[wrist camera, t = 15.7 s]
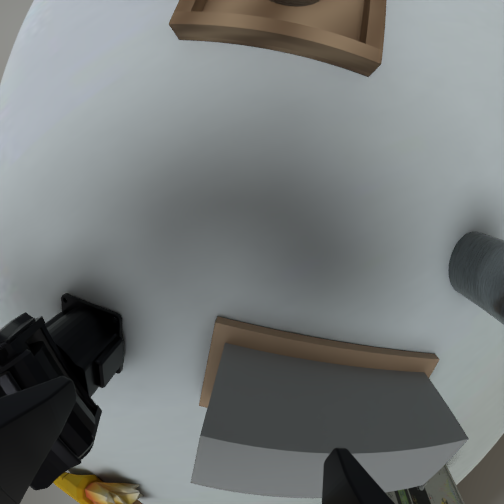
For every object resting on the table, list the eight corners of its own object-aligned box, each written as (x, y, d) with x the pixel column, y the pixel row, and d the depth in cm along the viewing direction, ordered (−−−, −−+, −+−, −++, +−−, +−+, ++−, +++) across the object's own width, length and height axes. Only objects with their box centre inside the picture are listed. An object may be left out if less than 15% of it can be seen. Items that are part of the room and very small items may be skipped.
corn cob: (65, 454, 35) (149, 482, 29) (77, 484, 33) (164, 516, 27) (36, 462, 28) (115, 503, 22) (50, 494, 26) (135, 539, 19)
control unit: (201, 398, 23) (174, 486, 13) (217, 316, 20) (182, 411, 11) (392, 421, 23) (421, 491, 13) (434, 353, 20) (488, 422, 11)
